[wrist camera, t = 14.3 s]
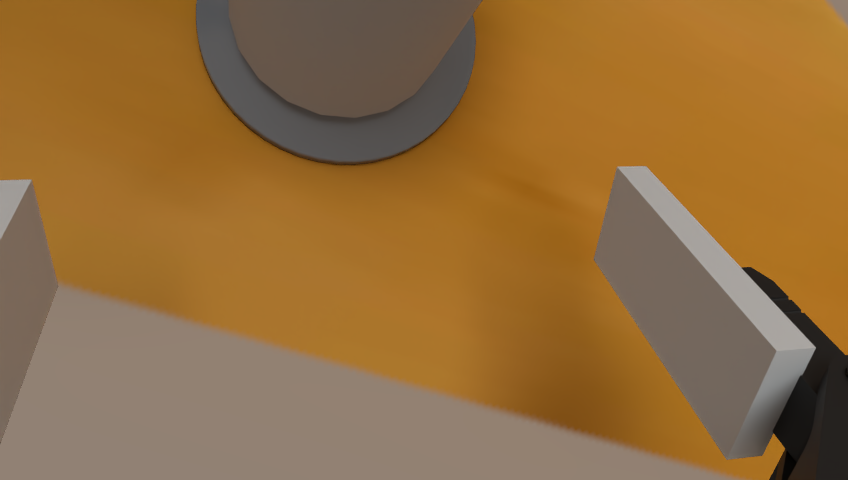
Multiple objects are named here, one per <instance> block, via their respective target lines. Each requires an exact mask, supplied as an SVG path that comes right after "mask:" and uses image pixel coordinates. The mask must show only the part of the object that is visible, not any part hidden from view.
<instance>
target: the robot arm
mask: <svg viewBox="0 0 848 480" xmlns="http://www.w3.org/2000/svg"><path fill="white" fill-rule="evenodd" d="M594 260H595V262H596V263H597V265H598V266H599V268H600V269H601V271H602V273H603V274H604V276H605V277H606V279H607V280H608V282H609V283H610V285H611V286H612V288H613V289H614V291H615V292H616V294H617V295H618V297H619V298H620V300H621V301H622V303H623V304H624V306H625V307H626V309H627V310H628V312H629V313H630V315H631V316H632V318H633V319H634V321H635V322H636V324H637V325H638V327H639V328H640V330H641V331H642V333H643V334H644V336H645V337H646V339H647V340H648V342H649V343H650V345H651V346H652V348H653V349H654V351H655V352H656V354H657V355H658V357H659V358H660V360H661V361H662V363H663V364H664V366H665V367H666V369H667V370H668V372H669V374H670V375H671V377H672V378H673V380H674V381H675V383H676V384H677V386H678V387H679V389H680V390H681V392H682V393H683V395H684V396H685V398H686V399H687V401H688V402H689V404H690V405H691V407H692V408H693V410H694V411H695V413H696V414H697V416H698V417H699V419H700V420H701V422H702V423H703V425H704V426H705V428H706V429H707V431H708V432H709V434H710V435H711V437H712V438H713V440H714V441H715V443H716V444H717V446H718V447H719V449H720V450H721V452H722V453H723V455H724V456H725V458H726V459H727V460H728V459H736V458H745V457H754V456H762V455H763V453H764V451H765V449H766V447H767V445H768V443H769V441H770V439H771V437H772V435H773V433H774V434H775V435H776V437H777V438H778V439H779V441H780V442H781V443H782V445H783V446H784V447H785V451H784V452H783V454H782V456H781V458H780V460H779V462H778V464H777V466H776V468H775V470H774V472H773V474H772V475H771V477H770V479H769V480H848V355H845V354H844V353H843V352H842V351H841V350H840V349H839V348H838V347H837V346H836V345H835V344H834V343H833V342H832V341H831V340H830V339H829V338H828V337H827V336H826V335H825V334H824V333H823V332H822V331H821V330H820V329H819V328H818V327H817V326H816V325H815V324H814V323H813V322H812V320H811V319H810V318H809V317H808V316H807V315H806V314H805V313H801V309H800V308H799V307H798V306H797V305H796V304H795V303H794V302H793V301H792V300H789V299H788V296H787V295H786V294H785V293H784V292H783V291H782V290H781V289H780V288H779V287H778V286H777V285H776V284H775V282H774V281H772V280H771V279H769V278H767V277H766V276H764V275H763V274H761V273H759V272H758V271H756V270H755V269H753V268H751V267H744V268H741V267H740V266H739V265H738V264H737V263H736V262H735V261H734V260H733V259H732V258H731V257H730V255H729V254H728V253H727V252H726V251H725V250H724V249H723V248H722V247H721V246H720V245H719V244H718V243H717V242H716V240H715V239H714V238H713V237H712V236H711V235H710V234H709V233H708V232H707V231H706V230H705V229H704V228H703V227H702V226H701V224H700V223H699V222H698V221H697V220H696V219H695V218H694V217H693V216H692V215H691V214H690V213H689V212H688V211H687V210H686V208H685V207H684V206H683V205H682V204H681V203H680V202H679V201H678V200H677V199H676V198H675V197H674V196H673V195H672V194H671V192H670V191H669V190H668V189H667V188H666V187H665V186H664V185H663V184H662V183H661V182H660V181H659V180H658V179H657V177H656V176H655V175H654V174H653V173H652V172H651V171H650V170H649V169H648V168H647V167H646V166H635V167H617V170H616V174H615V178H614V181H613V185H612V189H611V193H610V197H609V201H608V205H607V209H606V213H605V217H604V221H603V225H602V229H601V233H600V237H599V241H598V245H597V249H596V253H595V257H594ZM57 288H58V283H57V279H56V275H55V271H54V267H53V263H52V259H51V255H50V251H49V247H48V243H47V239H46V235H45V231H44V227H43V223H42V219H41V215H40V211H39V207H38V203H37V199H36V195H35V191H34V187H33V183H32V180H0V443H1V440H2V438H3V435H4V432H5V429H6V427H7V424H8V421H9V418H10V416H11V413H12V410H13V407H14V405H15V402H16V399H17V397H18V394H19V391H20V388H21V386H22V383H23V380H24V378H25V375H26V372H27V369H28V366H29V364H30V361H31V358H32V356H33V353H34V350H35V348H36V345H37V342H38V339H39V337H40V334H41V331H42V328H43V326H44V323H45V320H46V318H47V315H48V312H49V309H50V307H51V304H52V301H53V298H54V296H55V293H56V290H57Z"/></svg>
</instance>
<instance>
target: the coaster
mask: <svg viewBox="0 0 848 480" xmlns="http://www.w3.org/2000/svg"><path fill="white" fill-rule="evenodd" d="M196 25H197V34H198V40H199V47H200V52H201V55H202V58H203V62H204V65H205V68H206V70H207V72H208V75H209V77H210V79H211V81H212V84H213V85H214V87H215V89H216V90H217V92H218V93H219V95H220V97H221V98H222V100H223V101H224V102H225V104H226V105H227V106H228V107H229V109H230V110H231V111H232V112H233V113H234V115H235V116H236V117H237V118H238V119H240V120H241V121H242V122H243V123H244V124H245V125H246V126H247V127H248V128H249V129H250V130H252V131H253V132H254V133H256V134H257V135H258V136H260V137H261V138H263V139H264V140H266V141H267V142H269V143H271V144H273V145H274V146H276V147H278V148H280V149H282V150H284V151H286V152H289V153H291V154H294V155H296V156H298V157H302V158H306V159H309V160H313V161H316V162H323V163H330V164H344V165H356V164H365V163H373V162H377V161H381V160H385V159H389V158H391V157H394V156H396V155H399V154H401V153H404V152H406V151H408V150H409V149H411V148H413V147H415V146H417V145H418V144H420V143H421V142H423V141H424V140H425V139H426V138H428V137H429V136H430V135H432V134H433V133H434V132H435V131H436V130H437V129H438V128H439V127H440V126H441V125H442V124H443V123H444V121H445V120H446V119H447V118H448V117H449V116H450V114H451V113H452V111H453V110H454V109H455V107H456V106H457V105H458V103H459V101H460V99H461V97H462V95H463V94H464V92H465V90H466V87H467V84H468V82H469V79H470V76H471V73H472V68H473V63H474V58H475V44H476V39H475V25H474V20H473V14H472V16H471V17H470V19H469V20H468V22H467V23H466V25H465V26H464V28H463V29H462V31H461V32H460V33H459V35H458V36H457V38H456V39H455V41H454V42H453V44H452V45H451V47H450V48H449V50H448V51H447V52H446V54H445V55H444V57H443V58H442V60H441V61H440V63H439V64H438V66H437V67H436V69H435V70H434V71H433V73H432V74H431V75H430V76H429V77H428V79H427V80H426V81H425V82H424V84H423V85H422V86H421V87H420V89H419V90H418V91H417V92H416V94H415V95H413V96H411V97H410V98H408V99H406V100H405V101H403V102H401V103H400V104H398V105H396V106H395V107H393V108H392V109H390V110H388V111H384V112H380V113H375V114H371V115H366V116H362V117H357V118H351V117H339V116H328V115H320V114H317V113H315V112H312V111H310V110H307V109H305V108H302V107H300V106H297V105H295V104H292V103H290V102H288V101H286V100H285V99H284V98H282V97H281V96H280V95H279V94H277V93H276V92H275V91H274V90H272V89H271V88H270V87H269V86H267V85H266V84H265V83H263V82H262V81H261V80H260V79H259V78H258V77H257V75H256V74H255V73H254V71H253V70H252V68H251V67H250V65H249V64H248V62H247V61H246V59H245V58H244V57H243V55H242V54H241V52H240V51H239V49H238V46H237V42H236V39H235V36H234V32H233V29H232V25H231V22H230V19H229V0H197V4H196Z"/></svg>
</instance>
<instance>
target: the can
mask: <svg viewBox="0 0 848 480" xmlns="http://www.w3.org/2000/svg"><path fill="white" fill-rule="evenodd" d="M481 1H482V0H229V19H230V22H231V25H232V29H233V32H234V36H235V39H236V42H237V46H238V49H239V51H240V52H241V54H242V55H243V57H244V58H245V59H246V61H247V62H248V64H249V65H250V67H251V68H252V70H253V71H254V73H255V74H256V75H257V77H258V78H259V79H260V80H261V81H262V82H263V83H265V84H266V85H267V86H269V87H270V88H271V89H272V90H274V91H275V92H276V93H277V94H279V95H280V96H281V97H282V98H284V99H285V100H286V101H288V102H290V103H292V104H295V105H297V106H300V107H302V108H305V109H307V110H310V111H312V112H315V113H317V114H320V115H328V116H339V117H351V118H357V117H362V116H366V115H371V114H375V113H380V112H384V111H388V110H390V109H392V108H393V107H395V106H396V105H398V104H400V103H401V102H403V101H405V100H406V99H408V98H410V97H411V96H413V95H415V94H416V92H417V91H418V90H419V89H420V87H421V86H422V85H423V84H424V82H425V81H426V80H427V79H428V77H429V76H430V75H431V74H432V73H433V71H434V70H435V69H436V67H437V66H438V64H439V63H440V61H441V60H442V58H443V57H444V55H445V54H446V52H447V51H448V50H449V48H450V47H451V45H452V44H453V42H454V41H455V39H456V38H457V36H458V35H459V33H460V32H461V31H462V29H463V28H464V26H465V25H466V23H467V22H468V20H469V19H470V17H471V16H472V14H473V13H474V12H475V10H476V9H477V7H478V6H479V4H480V3H481Z"/></svg>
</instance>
